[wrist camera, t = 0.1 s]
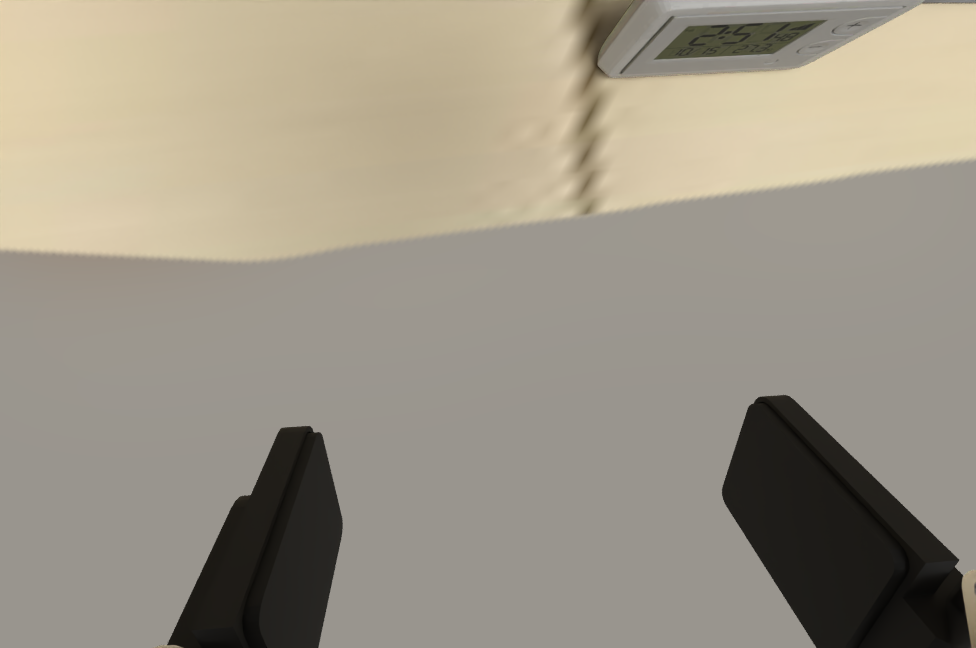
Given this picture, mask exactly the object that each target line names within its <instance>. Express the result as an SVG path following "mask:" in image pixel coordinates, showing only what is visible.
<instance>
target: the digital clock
mask: <svg viewBox="0 0 976 648" xmlns="http://www.w3.org/2000/svg"><path fill="white" fill-rule="evenodd" d="M923 1H924V0H634V1H633V2H632V4H631V5H630V7H629V8H628V9H627V11H626V12H625V14H624V15H623V16H622V18H621V19H620V21H619V22H618V23H617V25H616V26H615V28H614V29H613V31H612V32H611V33H610V35H609V36H608V38H607V39H606V40H605V42H604V44H603V46H602V47H601V49H600V52H599V55H598V66H599V67H600V68H601V70H602V71H603V72H604V73H605V74H606V75H608V76H609V77H611V78H624V77H647V76H667V75H687V74H707V73H727V72H747V71H767V70H783V69H794V68H799V67H802V66H804V65H807V64H809V63H811V62H813V61H815V60H817V59H819V58H821V57H822V56H824V55H826V54H828V53H830V52H832V51H834V50H836V49H838V48H839V47H841V46H843V45H845V44H847V43H849V42H851V41H853V40H855V39H856V38H858V37H860V36H862V35H864V34H866V33H868V32H870V31H872V30H873V29H875V28H877V27H879V26H881V25H883V24H885V23H887V22H889V21H890V20H892V19H894V18H896V17H898V16H900V15H902V14H904V13H905V12H907V11H909V10H911V9H913V8H914V7H916V6H918V5H919V4H921V3H922V2H923Z"/></svg>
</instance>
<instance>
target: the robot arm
mask: <svg viewBox="0 0 976 648" xmlns="http://www.w3.org/2000/svg"><path fill="white" fill-rule="evenodd" d="M722 496H723V500H724V502H725V504H726V506H727V508H728V509H729V511H730V512H731V514H732V516H733V517H734V519H735V520H736V522H737V523H738V525H739V527H740V528H741V530H742V531H743V533H744V534H745V536H746V538H747V539H748V541H749V542H750V544H751V545H752V547H753V548H754V550H755V552H756V553H757V555H758V556H759V558H760V560H761V561H762V563H763V564H764V566H765V567H766V569H767V571H768V572H769V574H770V575H771V577H772V578H773V580H774V582H775V583H776V585H777V586H778V588H779V589H780V591H781V592H782V594H783V596H784V597H785V599H786V600H787V602H788V604H789V605H790V607H791V608H792V610H793V611H794V613H795V615H796V616H797V618H798V619H799V621H800V622H801V624H802V625H803V627H804V629H805V630H806V632H807V633H808V635H809V637H810V638H811V640H812V641H813V643H814V644H815V646H816V648H976V570H971V571H969V572H967V573H966V574H965V575H964V576H963V575H962V574H961V573H960V572H959V571H958V570H957V569H956V568H955V565H956V564H957V563H958V561H959V559H958V558H957V557H956V556H955V555H954V554H953V553H951V551H950V550H948V549H947V548H946V547H945V546H944V545H943V544H942V543H941V542H940V541H939V540H938V539H937V538H936V537H935V536H934V535H933V534H932V533H931V532H930V531H929V530H928V529H927V528H926V527H925V526H924V525H923V524H922V523H921V522H920V521H918V520H917V519H916V518H915V517H914V516H913V515H912V514H911V513H910V512H909V511H908V510H907V509H906V508H905V507H904V506H903V505H902V504H901V503H900V502H899V501H898V500H897V499H896V498H895V497H894V496H893V495H892V494H891V493H890V492H889V491H887V489H885V488H884V487H883V486H882V485H881V484H880V483H879V482H878V481H877V480H876V479H875V478H874V477H873V476H872V475H871V474H870V473H869V472H868V471H867V470H866V469H865V468H864V467H863V466H862V465H861V464H860V463H859V462H858V461H857V460H856V459H854V458H853V457H852V456H851V455H850V454H849V453H848V452H847V451H846V450H845V449H844V448H843V447H842V446H841V445H840V444H839V443H838V442H837V441H836V440H835V439H834V438H833V437H832V436H831V435H830V434H829V433H828V432H827V431H826V430H825V429H824V428H822V427H821V426H820V425H819V424H818V423H817V422H816V421H815V420H814V419H813V418H812V417H811V416H810V415H809V414H808V413H807V412H806V411H805V410H804V409H803V408H802V407H801V406H800V405H799V404H798V403H797V402H796V401H795V400H793V399H792V398H791V397H790V396H786V395H780V396H765V397H758V398H757V399H756V400H755V402H754V404H751V405H750V406H749V408H748V410H747V413H746V416H745V419H744V422H743V426H742V428H741V432H740V435H739V438H738V441H737V444H736V447H735V450H734V453H733V456H732V460H731V463H730V466H729V469H728V472H727V475H726V478H725V481H724V485H723V488H722ZM342 524H343V523H342V516H341V512H340V507H339V503H338V499H337V495H336V491H335V486H334V482H333V478H332V474H331V470H330V465H329V461H328V457H327V453H326V449H325V445H324V440H323V437H322V434H321V433H319V432H317V433H314V432H313V429H312V428H311V427H310V426H302V427H287V428H281V429H280V431H279V432H278V434H277V437H276V439H275V441H274V443H273V446H272V448H271V450H270V453H269V455H268V458H267V460H266V462H265V464H264V466H263V469H262V471H261V473H260V476H259V478H258V480H257V482H256V485H255V487H254V489H253V491H252V494H251V495H248V496H241V497H239V498H238V499H237V500H236V501H235V503H234V505H233V506H232V508H231V510H230V512H229V514H228V516H227V518H226V521H225V523H224V525H223V527H222V529H221V531H220V534H219V535H218V538H217V540H216V542H215V544H214V546H213V548H212V551H211V552H210V555H209V557H208V559H207V561H206V563H205V565H204V567H203V570H202V572H201V574H200V576H199V578H198V580H197V582H196V584H195V587H194V589H193V591H192V593H191V595H190V597H189V599H188V602H187V604H186V606H185V608H184V610H183V612H182V614H181V616H180V619H179V621H178V623H177V625H176V627H175V629H174V632H173V634H172V636H171V638H170V640H169V642H168V644H167V645H160V646H157V647H154V648H318V646H319V642H320V637H321V632H322V627H323V622H324V618H325V612H326V608H327V603H328V598H329V593H330V589H331V584H332V579H333V575H334V570H335V565H336V560H337V556H338V551H339V546H340V542H341V537H342Z"/></svg>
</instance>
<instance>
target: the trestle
mask: <svg viewBox="0 0 976 648" xmlns="http://www.w3.org/2000/svg"><path fill="white" fill-rule="evenodd" d="M922 3H976V0H924V1H923V2H922Z"/></svg>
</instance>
